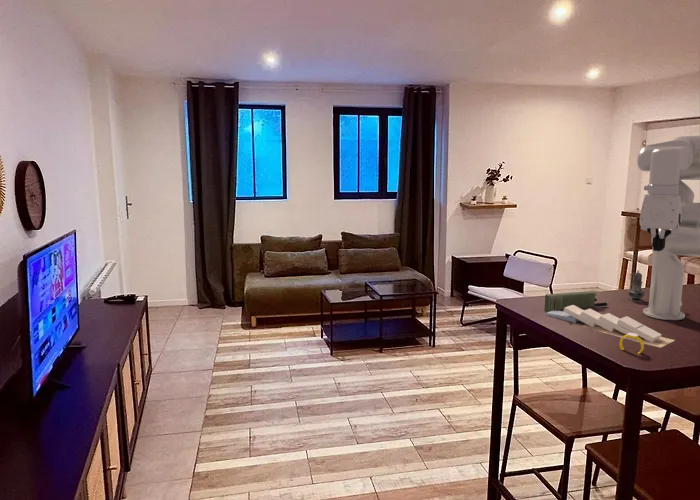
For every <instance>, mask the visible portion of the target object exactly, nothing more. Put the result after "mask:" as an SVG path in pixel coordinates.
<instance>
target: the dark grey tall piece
mask: <svg viewBox="0 0 700 500" xmlns="http://www.w3.org/2000/svg"><path fill="white" fill-rule="evenodd" d="M642 279H643V274H642V273H640V272H639V270H637V271H636V272H635V273H634V274H633V277H632V281H631V283H632V288H631V289H627V292H628V295H629V298H628V299H627V300H628V301H629V302H632V303H644V300H643V299H642V298H643V297H644V295H645V294H646V292H645V291H643V290H642V286H643V285H642V284H643V281H642Z"/></svg>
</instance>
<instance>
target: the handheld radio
mask: <svg viewBox="0 0 700 500" xmlns="http://www.w3.org/2000/svg"><path fill="white" fill-rule="evenodd" d="M597 296H598V291H597V290H588V291H587V290H586V291H572V292H560V293H559V292H557V293H546V294H545V297H544V311H543V312H545V313H547V312H550V311H553V310H556V311H561V310H564V308H565V307H568V306H571V305H575V306H577V307H578V308H580V309H582V308H592V307H594V308H596V307H597V308H598V307H607V306H608V302H598V301H597V300H598V299H597V298H596V297H597Z"/></svg>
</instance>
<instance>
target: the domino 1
mask: <svg viewBox="0 0 700 500" xmlns="http://www.w3.org/2000/svg"><path fill="white" fill-rule="evenodd" d="M545 315H546V316H548V317H551V318H555V319H559V320H563V321H566V322H571V323H574V322H575V323H576V322H579V321H580V320H578V319H576V318H574V317H573V316H571V315H569V314H567V313H565V312H563V310H562V311H561V310H553V311H550V312H545Z"/></svg>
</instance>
